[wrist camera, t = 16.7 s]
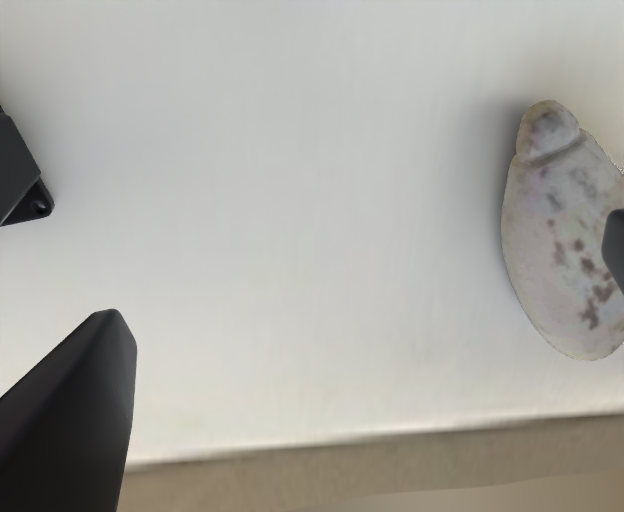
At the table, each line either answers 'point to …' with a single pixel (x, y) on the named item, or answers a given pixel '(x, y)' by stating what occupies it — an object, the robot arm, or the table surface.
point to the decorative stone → (562, 233)
